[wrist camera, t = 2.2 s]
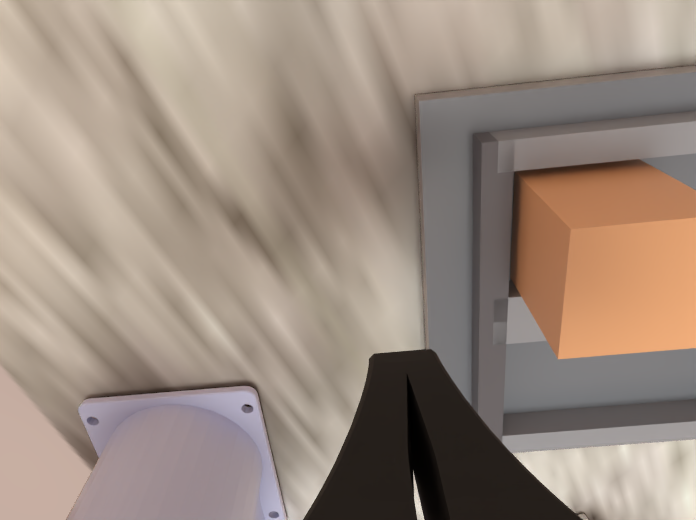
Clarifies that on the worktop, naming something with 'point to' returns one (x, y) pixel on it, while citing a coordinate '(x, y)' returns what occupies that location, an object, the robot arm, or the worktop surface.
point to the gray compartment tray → (495, 254)
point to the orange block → (606, 257)
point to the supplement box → (583, 516)
